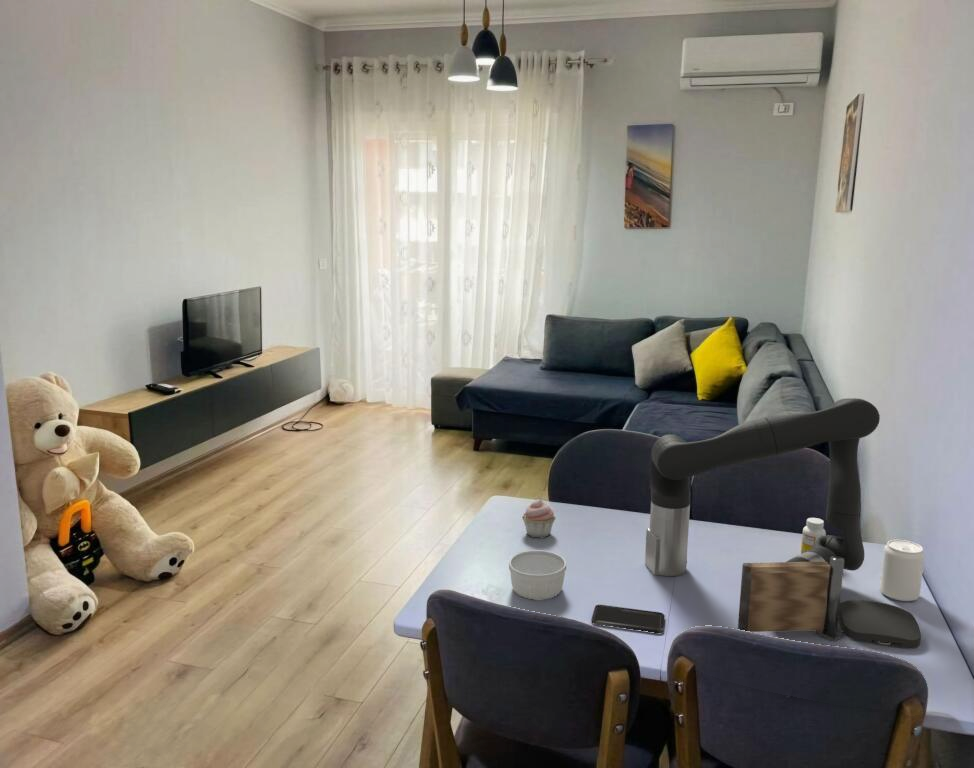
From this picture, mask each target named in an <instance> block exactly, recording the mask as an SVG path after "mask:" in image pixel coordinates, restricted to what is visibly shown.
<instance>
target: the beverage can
mask: <svg viewBox="0 0 974 768" xmlns="http://www.w3.org/2000/svg"><path fill="white" fill-rule="evenodd" d="M883 549H884V550H883V558H882V564H881V565H882V567H881V575H880V583H879V591H880V592H881V593H882V594H883V595H885V596H887V597H888V598H890V599H892V600H895V601H901V602H913V601H916V600H918V599H919V598H920V596H921V588H922V578H923V571H924V563H925V557H926V555H925V552H924V548H923V547H922V546H921V544H918V543H916V542H913V541H911V540H905V539H891V540H888V541H887V544H886V545H885V546H884V548H883Z"/></svg>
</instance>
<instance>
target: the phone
mask: <svg viewBox="0 0 974 768" xmlns="http://www.w3.org/2000/svg"><path fill="white" fill-rule="evenodd" d="M665 617H666V615H665V614H664V613H663V612H659V611H651V610H645V609H637V608H636V609H635V608H629V607H623V606H622V607H621V606H616V605H615V606H614V605H606V604H596V605H595V606H594V609H593V613H592V615H591V619H590V621H591V622H592V623H594V624H596V625H595V626H598V625H599V626H600V625H601V626H600V627H605V626H613V627H619V628H626V629H633V630H641V631H648V632H654V633H653V634H655V633H661V634H663V633H664V626H665V619H664V618H665ZM591 622H590V623H591ZM592 623H591V624H592ZM603 625H605V626H603ZM599 626H598V627H599ZM619 628H618V629H619ZM626 629H625V630H626ZM633 630H632V631H633ZM641 631H640V632H641ZM648 632H647V633H648ZM662 632H663V633H662Z"/></svg>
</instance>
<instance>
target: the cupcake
mask: <svg viewBox="0 0 974 768" xmlns="http://www.w3.org/2000/svg"><path fill="white" fill-rule="evenodd" d="M554 514H555V513H554V510H553V509H552V508H551V507H550V505H549V504H548V503H546V502H544V501H542V499H541V498H538V499H536V500H534V501H532V502H531V504H529V506H527V508H526V510H525V512H524V513H523V515H522V517H521V518H522V521H523V523H524V526H525V531H526V534H527V535H528V536H529V535H530V536H529V537H531V536H533V537H532V538H535V537H543V538H546V537H545V536H547V537H548V535H549V534H551V532H552V528H553V525H554V523H555V521H556V518H557V517H556V516H554ZM549 536H550V535H549Z"/></svg>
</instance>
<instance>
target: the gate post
mask: <svg viewBox="0 0 974 768" xmlns="http://www.w3.org/2000/svg"><path fill="white" fill-rule="evenodd" d="M843 568H844V559H843V558H842V557H838V556H832V557H830V572H829V579H828V588H827V598H826V608H825V618H824V627H823V630H818V631H815V633H814V634H815V635H816V636H818V637H821V638H823V639H826V640H828V641H830V642H832V643H835V642H837V641H838V640H840V639H841V638H842V637H844V635H845V634H844V632H843V630H840V629H838V623H839V622H838V621H839V616H838V615H839V606H840V603H841V595H842V587H843V586H842V585H843V577H844V576H843V575H844V569H843Z"/></svg>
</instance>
